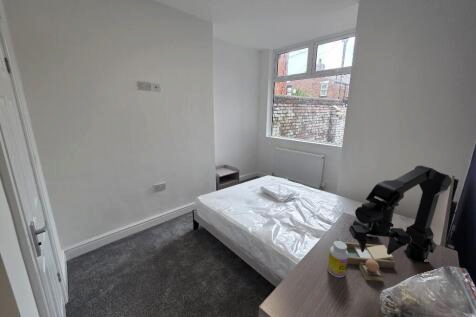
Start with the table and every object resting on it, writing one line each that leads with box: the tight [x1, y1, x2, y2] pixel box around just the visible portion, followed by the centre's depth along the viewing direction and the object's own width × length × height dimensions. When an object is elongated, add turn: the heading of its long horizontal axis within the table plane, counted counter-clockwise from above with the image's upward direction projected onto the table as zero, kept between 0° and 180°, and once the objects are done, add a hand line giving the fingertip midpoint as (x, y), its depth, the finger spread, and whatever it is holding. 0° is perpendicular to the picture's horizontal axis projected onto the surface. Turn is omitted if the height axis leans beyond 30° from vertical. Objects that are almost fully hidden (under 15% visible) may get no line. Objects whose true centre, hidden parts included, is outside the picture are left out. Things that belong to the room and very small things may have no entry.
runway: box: [336, 237, 397, 269], centre depth 87 cm, size 19×10×5 cm, turn 81°
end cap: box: [352, 218, 377, 241], centre depth 102 cm, size 10×7×7 cm
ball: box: [366, 259, 380, 272], centre depth 78 cm, size 4×4×4 cm
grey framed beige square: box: [358, 263, 384, 282], centre depth 79 cm, size 6×6×2 cm
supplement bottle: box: [326, 240, 349, 278], centre depth 79 cm, size 7×7×13 cm
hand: (374, 252), depth 76 cm, fingers open, 9 cm apart
